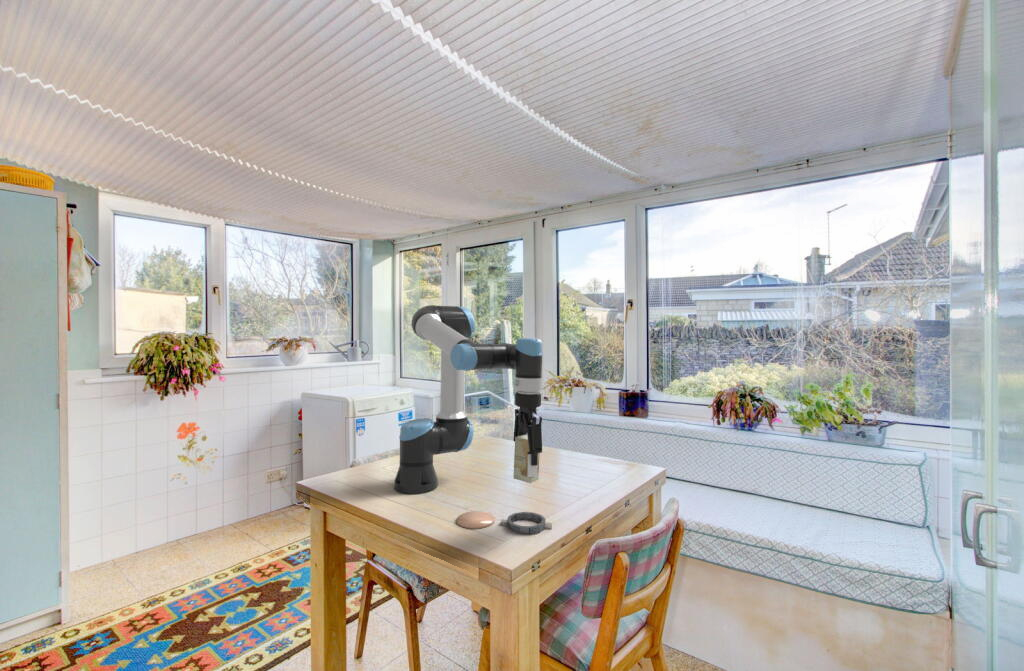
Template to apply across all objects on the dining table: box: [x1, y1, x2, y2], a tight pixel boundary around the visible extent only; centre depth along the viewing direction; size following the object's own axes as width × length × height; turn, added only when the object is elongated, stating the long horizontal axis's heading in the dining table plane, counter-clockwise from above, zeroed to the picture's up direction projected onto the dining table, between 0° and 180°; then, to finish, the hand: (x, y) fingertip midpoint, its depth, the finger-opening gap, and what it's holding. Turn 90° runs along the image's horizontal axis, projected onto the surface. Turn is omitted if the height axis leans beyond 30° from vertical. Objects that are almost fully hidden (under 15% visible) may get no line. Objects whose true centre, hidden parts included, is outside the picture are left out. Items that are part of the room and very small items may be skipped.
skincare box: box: [513, 435, 541, 484], centre depth 129 cm, size 6×4×12 cm
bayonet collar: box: [500, 511, 553, 535], centre depth 129 cm, size 15×11×2 cm
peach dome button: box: [456, 510, 495, 530], centre depth 132 cm, size 11×11×1 cm
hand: (526, 471), depth 129 cm, fingers closed on skincare box, 7 cm apart
